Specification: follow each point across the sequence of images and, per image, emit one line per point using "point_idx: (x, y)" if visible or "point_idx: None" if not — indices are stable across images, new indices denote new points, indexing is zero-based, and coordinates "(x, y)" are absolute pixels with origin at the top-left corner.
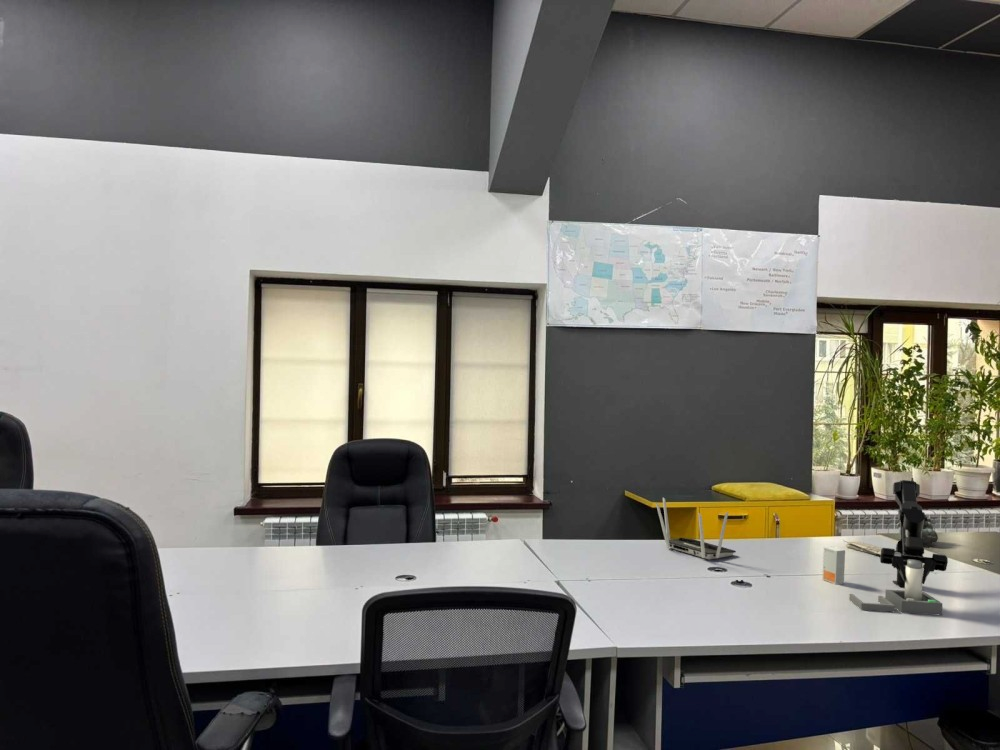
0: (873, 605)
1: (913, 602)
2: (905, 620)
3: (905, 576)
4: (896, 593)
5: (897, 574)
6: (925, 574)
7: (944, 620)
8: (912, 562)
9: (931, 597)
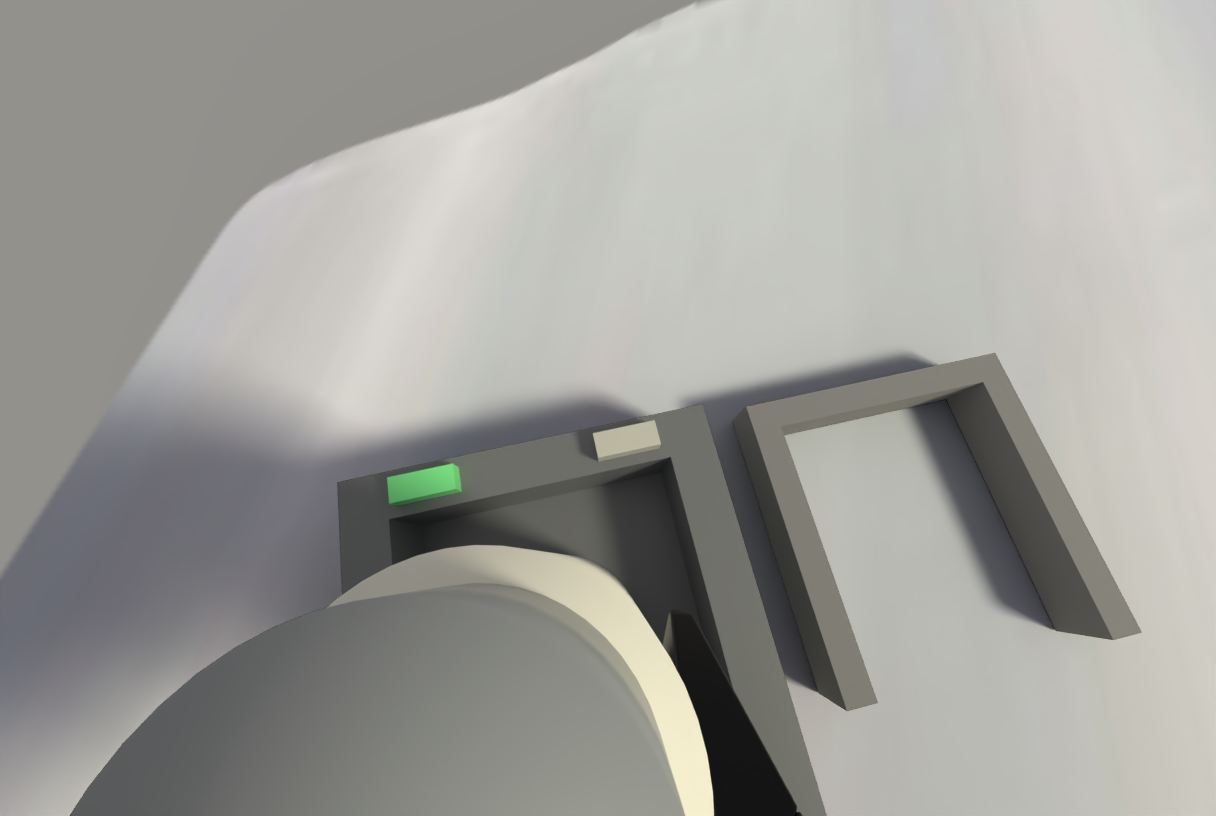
0: (901, 375)
1: (601, 427)
2: (684, 266)
3: (678, 657)
4: None
5: None
6: None
7: (421, 369)
8: (542, 622)
9: None
